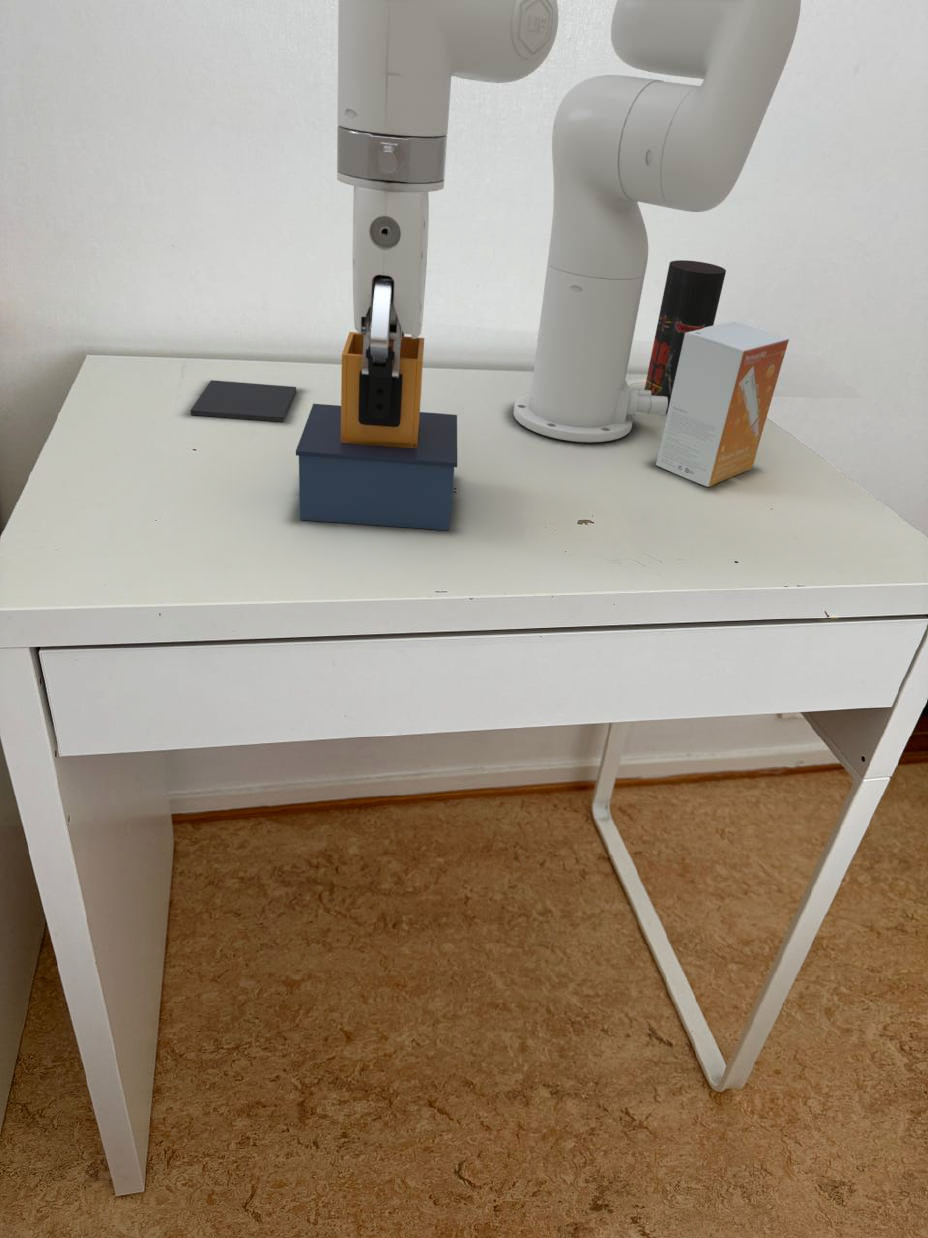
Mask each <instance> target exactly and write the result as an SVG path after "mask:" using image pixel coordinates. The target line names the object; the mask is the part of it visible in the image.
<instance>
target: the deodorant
mask: <svg viewBox="0 0 928 1238" xmlns="http://www.w3.org/2000/svg"><path fill="white" fill-rule="evenodd" d="M726 275H727V270H726V269H725V267H722V266H720V265H717V264H712V263H710V262H709V263H708V262H704V261H697V260H688V259H687V260H686V259H685V260H682V259H681V260H680V259H679V260H671V261H670V262H669V265H668V269H667V274H666V280H665V284H664V290H663V294H662V300H661V304H660V309H659V316H658V320H657V324H656V329H655V335H654V338H653V344H652V345H653V346H652V350H651V353H650V354H651V355H650V359H649V364H648V370H647V375H646V380H645V385H644V389H643V390H650V391H651V395H652V396H664V397H667V398H668V406H667V411H666V413H668V408H669V404H670V399H671V394H672V390H673V385H674V381H675V376H676V372H677V367H678V363H679V358H680V354H681V349H682V344H683V340H684V335H685V333H686V332H691V331H695V330H700V329H703V328H705V327H709V326H715V320H716V317H717V311H718V308H719V303H720V299H721V295H722V290H723V286H724V281H725V278H726Z"/></svg>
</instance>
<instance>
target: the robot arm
mask: <svg viewBox="0 0 928 1238" xmlns="http://www.w3.org/2000/svg"><path fill="white" fill-rule="evenodd" d="M801 4H802V0H616V3H615V6H614V10H613V14H612V18H611V26H610V41H611V46H612V48H613V50H614V53H615V55H616V56H617V57H618V58H619V59H620V60H621V62H623V63H624V64H625V65H627V66H629V67H632V68H634V69H636V70H641V71H644V72H648V73H653V74H659V75H665V76H671V77H672V76H673V77H681V78H682V77H683V78H690V79H699V80H702V83H701V84H700V85H694V84H687V83H679V82H672V81H671V82H670V81H664V80H661V79H655V78H645V77H639V76H631V75H621V74H604V75H603V74H602V75H596V76H592V77H589V78H587V79H584V80H582V81H580V82H578V83H576V84H575V85H574V86H573V87H572V88H571V89H569V91H568V92H567V93H566V94H565V95H564V97H563V98H562V100H561V102H560V103H559V105H558V108H557V110H556V113H555V116H554V120H553V126H552V135H551V156H552V157H551V159H552V174H553V176H552V177H553V202H552V203H553V205H552V218H551V219H552V220H551V230H550V238H549V247H548V256H547V265H546V271H545V279H544V286H543V287H544V288H543V293H542V294H543V295H542V303H541V309H540V318H539V326H538V333H537V341H536V350H535V358H534V365H533V373H532V380H531V381H532V382H531V387H530V392H529V393H527V394H523V395H521V396H519V397H518V398H517V399H516V400H515V401H514V405H513V417H514V418H515V420H516V421H517V422H518V424H520V425H521V426H523V427H524V428H526V429H528V430H530V431H532V432H533V433H537V434H540V435H542V436H545V437H548V438H553V439H555V440H556V439H557V440H561V441H567V442H577V443H604V442H612V441H615V440H619V439H621V438H624V437H626V435H628V434H629V433H630V432H631V430H632V428H633V421H634V418H633V417H634V416H635V415H636V414H637V413H643V414H647V415H655V416H665V415H667V412H666V411H667V406H668V398H667V397H664V396H652V395H651V391H650V390H644V389H631V388H630V386H629V384H628V382H627V380H626V378H627V373H628V367H629V363H630V357H631V352H632V347H633V340H634V335H635V330H636V324H637V320H638V313H639V309H640V303H641V298H642V294H643V293H642V292H643V287H644V281H645V276H646V271H647V267H648V266H647V265H648V260H649V238H648V232H647V228H646V224H645V220H644V218H643V214H642V211H641V209H640V205H639V203H643V204H647V205H653V206H658V207H663V208H667V209H672V210H676V211H677V210H679V211H683V212H690V213H702V212H704V213H705V212H707V211H711V210H713V209H715V208H716V207H718V206H719V205H720V204H722V203H723V202H724V201H725V200H726V199H727V197H728V196H729V195H730V193H731V192H732V190H733V189H734V187H735V185H736V183H737V181H738V179H739V178H740V175H741V173H742V172H743V169H744V167H745V164H746V162H747V159H748V157H749V155H750V153H751V150H752V147H753V145H754V142H755V140H756V138H757V135H758V132H759V130H760V127H761V126H762V123H763V120H764V118H765V115H766V113H767V110H768V108H769V106H770V104H771V102H772V99H773V96H774V93H775V91H776V88H777V87H778V84H779V81H780V79H781V76H782V74H783V71H784V70H785V67H786V64H787V62H788V59H789V56H790V53H791V51H792V47H793V44H794V42H795V37H796V34H797V30H798V25H799V22H800V21H799V20H800V15H801ZM337 10H338V12H337V13H338V19H337V21H338V24H337V25H338V26H337V31H338V33H337V127H336V128H337V129H336V132H337V133H336V134H337V136H336V138H337V142H336V143H337V144H336V151H337V152H336V162H337V163H336V169H337V170H336V179H337V181H339V182H340V183H343V184H346V185H350V186H353V197H352V198H353V200H352V201H353V202H352V203H353V205H352V304H353V307H352V308H353V325H354V326H353V327H354V330H356V332H357V333H360V334H361V335H363V337H364V338H363V357H362V371H360V373H359V414H358V420H359V423H360V424H363V425H374V426H387V427H398V426H399V425H400V420H401V399H402V379H403V374H399V369H400V352H401V340H402V336H406V335H411V337H412V339H416V338H417V337H418V338H419V337H420V336H421V334H422V330H423V329H422V328H423V321H424V309H425V294H426V279H427V263H428V260H427V259H428V245H429V224H430V223H429V221H430V219H429V218H430V217H429V216H430V195H429V193H430V192H438V191H439V190H443V189H444V188H445V176H446V175H445V174H446V162H447V161H446V160H447V145H448V131H449V117H450V116H449V115H450V103H451V89H452V88H451V86H452V77H456V78H458V79H462V80H468V81H469V80H470V81H477V82H486V83H491V84H493V83H494V84H506V83H513V82H516V81H520V80H522V79H524V78H526V77H528V76H529V75H531V74H532V73H534V72H535V71H536V70H538V69H539V68H540V67H541V65H542V64H543V63H544V62H545V61H546V59H547V58H548V56H549V54H550V52H551V51H552V49H553V46H554V43H555V41H556V37H557V33H558V28H559V7H558V0H338V9H337ZM389 342H394V345H393V349H392V347H389ZM392 360H393V362H392Z"/></svg>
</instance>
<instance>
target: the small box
mask: <svg viewBox="0 0 928 1238" xmlns="http://www.w3.org/2000/svg"><path fill="white" fill-rule="evenodd" d="M789 341H790V338H788V337H784V336H781V335H778V334H774V333H771V332H768V331H765V330H762V329H760V328H755V327H752V326H749V325H746V324H743V323H739V322H736V321H730V322H726V323H721V324H714V325H713V326H709V327H705V328H703V329H700V330H695V331H691V332H686V333H685V335H684V340H683V344H682V349H681V354H680V358H679V363H678V367H677V372H676V376H675V381H674V385H673V390H672V394H671V399H670V404H669V408H668V412H666V418H665V423H664V426H663V431H662V436H661V440H660V443H659V444H660V445H659V449H658V453H657V458H656V462H655V465H656V467H659V468H661V469H664V470H666V471H668V472H671V473H673V474H675V475H676V476H679V477H682V478H685V479H687V480H689V481H691V482H694V483H697V484H699V485H702V486H704V487H707V488H710V487H712V486H714V485H716V484H718V483H720V482H723V481H725V480H727V479H730V478H733V477H735V476H737V475H739V474H742V473H745V472H747V471H750V470H752V469H753V467H754V462H755V460H756V455H757V452H758V450H759V449H758V448H759V445H760V442H761V438H762V435H763V431H764V428H765V423H766V422H767V416H768V413H769V411H770V407H771V403H772V400H773V397H774V393H775V389H776V386H777V382H778V379H779V376H780V372H781V369H782V365H783V362H784V358H785V354H786V351H787V347H788V344H789Z"/></svg>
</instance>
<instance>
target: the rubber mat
mask: <svg viewBox="0 0 928 1238" xmlns="http://www.w3.org/2000/svg"><path fill="white" fill-rule="evenodd" d="M296 393H297V386H290V385H288V386H287V385H275V384H262V383H251V382H239V381H238V382H237V381H227V380H214V379H213V380H210V381H209V382H208V384H206V387H205V388H204V390H203V391H202V393H200V396H199V397H198V399H197V400H196V402H195V403H194V404H193V405H192V408H191V409H190V415H191V416H201V417H214V418H215V417H216V418H227V419H239V420H252V421H255V420H256V421H264V422H265V421H266V422H276V423H277V422H278V423H283V422H284V421H285V419H286V417H287V414H288V411H289V409H290V407H291V404H292V402H293V400H294V397H295V395H296Z"/></svg>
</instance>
